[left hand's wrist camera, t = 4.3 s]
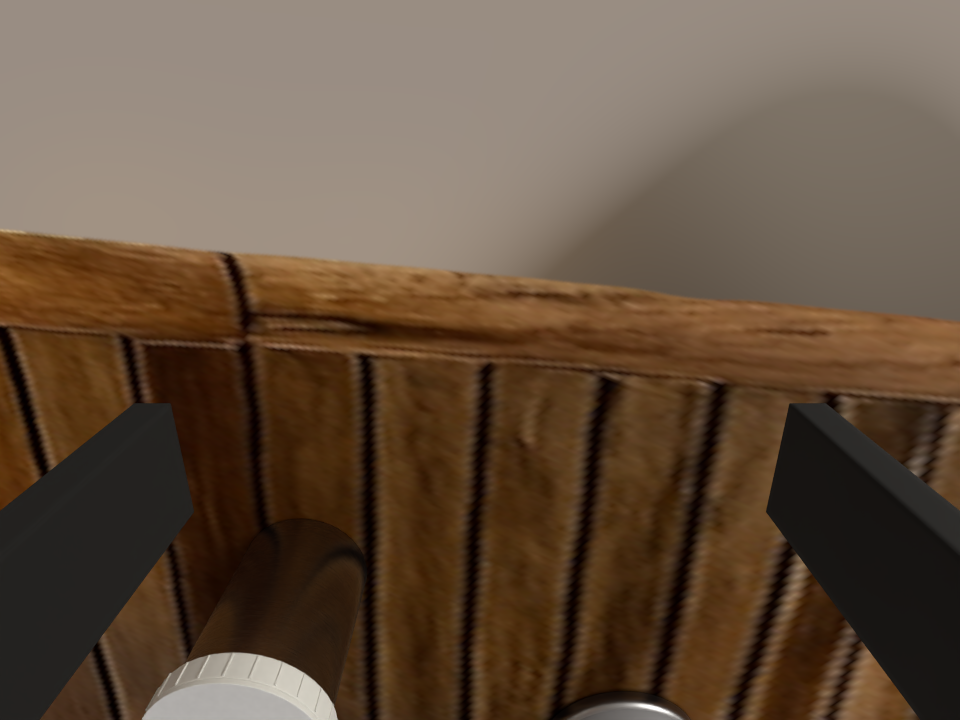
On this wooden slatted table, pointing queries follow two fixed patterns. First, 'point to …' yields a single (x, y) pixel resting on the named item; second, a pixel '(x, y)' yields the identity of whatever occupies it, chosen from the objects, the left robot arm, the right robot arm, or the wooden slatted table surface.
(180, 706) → the lid
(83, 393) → the wooden slatted table surface
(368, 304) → the wooden slatted table surface
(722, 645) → the wooden slatted table surface
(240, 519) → the wooden slatted table surface
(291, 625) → the jar
